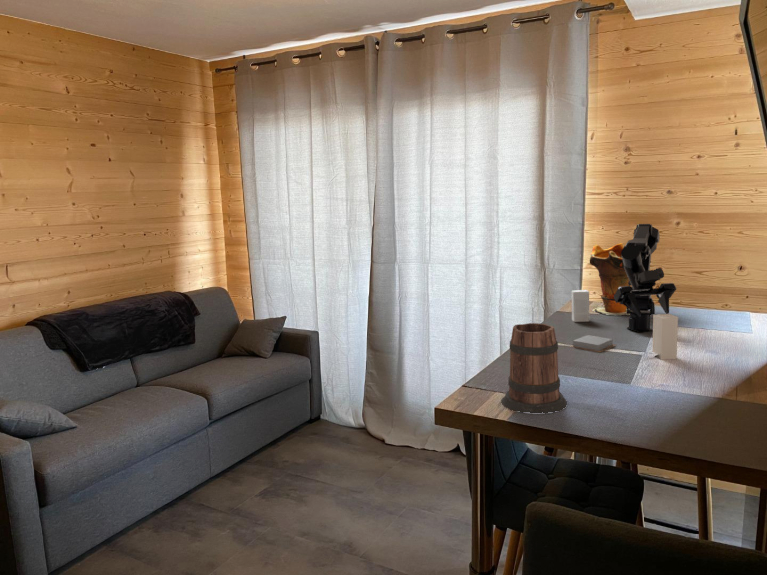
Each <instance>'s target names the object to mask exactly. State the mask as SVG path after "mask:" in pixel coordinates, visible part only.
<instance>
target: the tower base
mask: <svg viewBox="0 0 767 575" xmlns="http://www.w3.org/2000/svg"><path fill="white" fill-rule="evenodd" d="M616 346H617V344H616V343H613V345H612V346H609V347H607V348H604V349H602V350H600V351H595V350H590V349H584V348H579V347H573V344H571V345H569V347H570V348H574V349H580V350H585V351H589V352H595V353H602V352H604V351H607V350H609V349H611V348H613V347H616Z"/></svg>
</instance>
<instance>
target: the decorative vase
mask: <svg viewBox="0 0 767 575" xmlns="http://www.w3.org/2000/svg"><path fill="white" fill-rule="evenodd" d="M623 244H624V243H623V242H620V243H618V244H615V245H613V246H611V247H609V248H605V249H604V248H602V246H600V245H598V244H595V245H593V247H592V251H591V254H590V258H589V264H590V265H591V266H593V267H595V268H596V270H597V271H598V277H599V280H600V288H601V292H602V294H601V295H600V298H601V300H602V304H603V306H599V307H596V308H594V309H592V310H591V311H592V312H594V313H595V312H597V313H600V314H603V315H607V316H608V315H611V316H622V315H623V316H625V315H628V314H627V307H626V306H625V305H623V304H620V303H616V302H615V299H614V295H615V293H616V291H617V290H618V288H619V287H621V286H631V285H629V284H628V282H629V278H628V276H627V274H626V271H625V269H624V264H623V259H622V255H621V251H622V249H623V248H624V245H623Z"/></svg>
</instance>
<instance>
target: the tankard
mask: <svg viewBox="0 0 767 575" xmlns="http://www.w3.org/2000/svg"><path fill="white" fill-rule="evenodd" d="M510 338H511V339H510V341H509V350H510V352H509V353H510V354H509V355H510V356H509V357H510V358H509V375H508V384H507V385H508V386H509V387H508V388H509V390H507V391H506V392H505V394H504V396H503V397H502V398H501V401H500V403H502V404H501V405H502V406H503V407H504V408H505V407H506V409H507V408H508V409H507V410H509V409H510V410H509V411H512V410H513V411H512V412H514V411H520V412H530V413H542V412H543V413H548V412H555V411H559V412H561V411H560V410H562V409H563V408H565V407H566V405H567V402H568V400H567V399H566V398H565V396H564V395H563V394H562V393H561V391H560V388H561V387H560V386H561V378H560V377H559V363H558V362H559V361H558V360H559V359H558V350H559V342H558V341H557V337H556V331H555V327H554V326H552V325H550V324H549V325H548V324H546V323H538V322H531V323H523V324H520V323H519V324H515V325H513V327H512V332H511V337H510ZM566 400H567V401H566ZM566 408H567V407H566ZM566 408H565V409H566ZM562 411H563V410H562Z"/></svg>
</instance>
